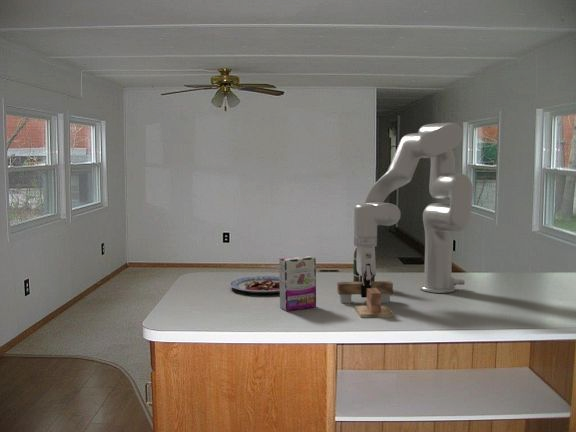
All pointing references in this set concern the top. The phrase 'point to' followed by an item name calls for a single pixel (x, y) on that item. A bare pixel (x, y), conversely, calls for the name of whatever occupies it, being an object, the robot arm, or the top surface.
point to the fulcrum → (373, 306)
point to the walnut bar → (355, 287)
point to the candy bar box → (297, 282)
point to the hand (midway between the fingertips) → (364, 295)
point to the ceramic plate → (257, 284)
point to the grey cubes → (348, 298)
